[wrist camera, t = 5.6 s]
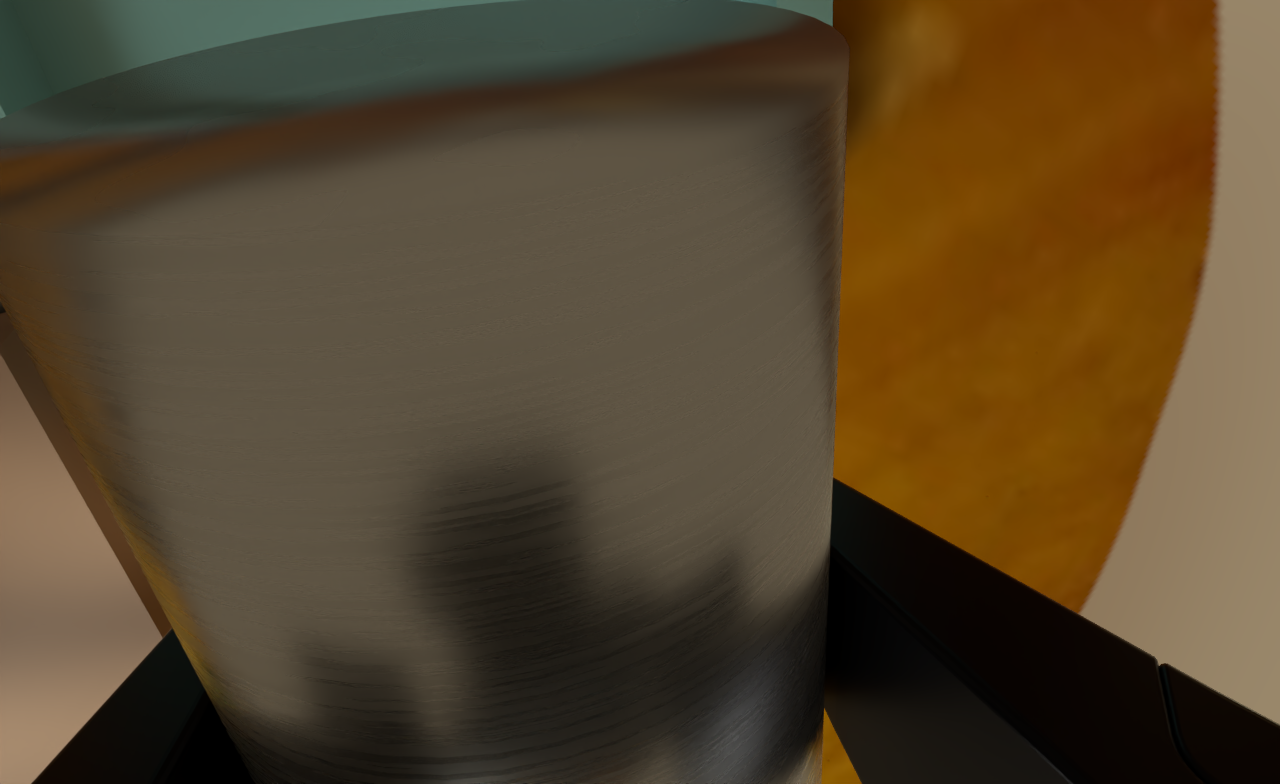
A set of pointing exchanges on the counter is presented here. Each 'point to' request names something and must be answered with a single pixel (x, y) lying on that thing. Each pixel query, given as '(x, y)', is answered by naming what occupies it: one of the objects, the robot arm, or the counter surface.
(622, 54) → the roller
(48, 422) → the board
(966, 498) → the counter surface
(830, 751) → the counter surface
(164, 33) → the tray
